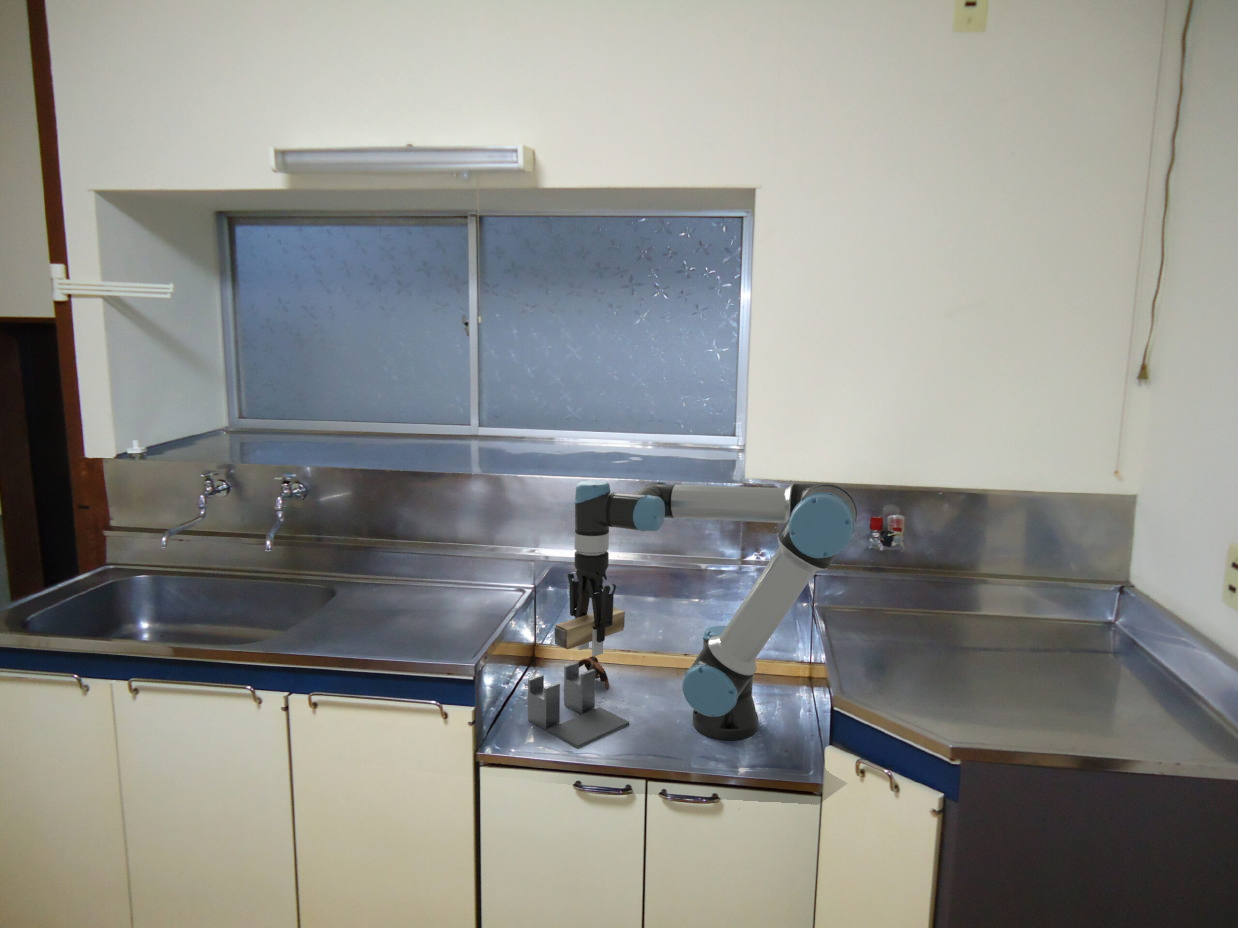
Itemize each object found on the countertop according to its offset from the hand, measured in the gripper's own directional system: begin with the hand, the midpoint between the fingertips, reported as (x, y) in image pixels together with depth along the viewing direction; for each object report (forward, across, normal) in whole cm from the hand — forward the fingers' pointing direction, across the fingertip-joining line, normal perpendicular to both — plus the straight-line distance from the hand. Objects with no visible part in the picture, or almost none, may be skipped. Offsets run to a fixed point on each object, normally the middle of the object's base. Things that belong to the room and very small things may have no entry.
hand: (590, 651), depth 182 cm
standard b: (+18, +9, +6) cm, 21 cm away
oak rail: (-3, 0, 0) cm, 3 cm away
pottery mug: (+19, +16, -15) cm, 29 cm away
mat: (+18, 0, 0) cm, 18 cm away
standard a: (+18, +9, -5) cm, 21 cm away
